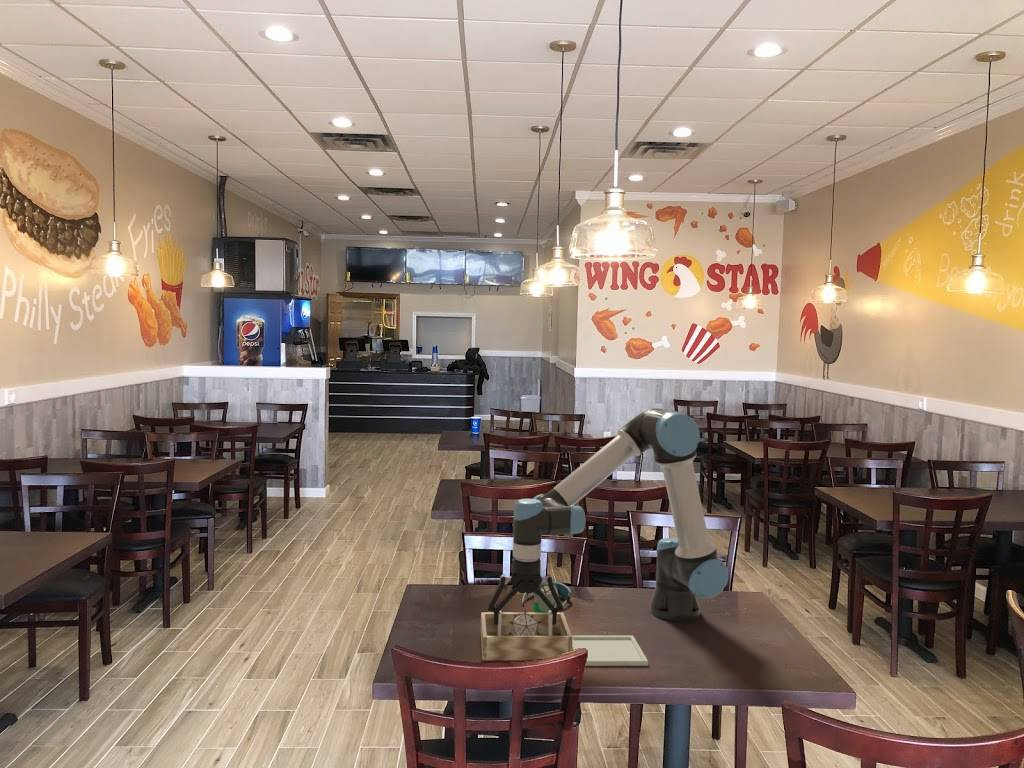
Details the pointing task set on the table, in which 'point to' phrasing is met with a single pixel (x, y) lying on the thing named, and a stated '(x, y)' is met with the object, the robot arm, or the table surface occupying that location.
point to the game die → (524, 625)
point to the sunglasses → (562, 592)
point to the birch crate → (523, 638)
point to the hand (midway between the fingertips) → (524, 636)
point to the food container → (539, 603)
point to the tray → (610, 650)
